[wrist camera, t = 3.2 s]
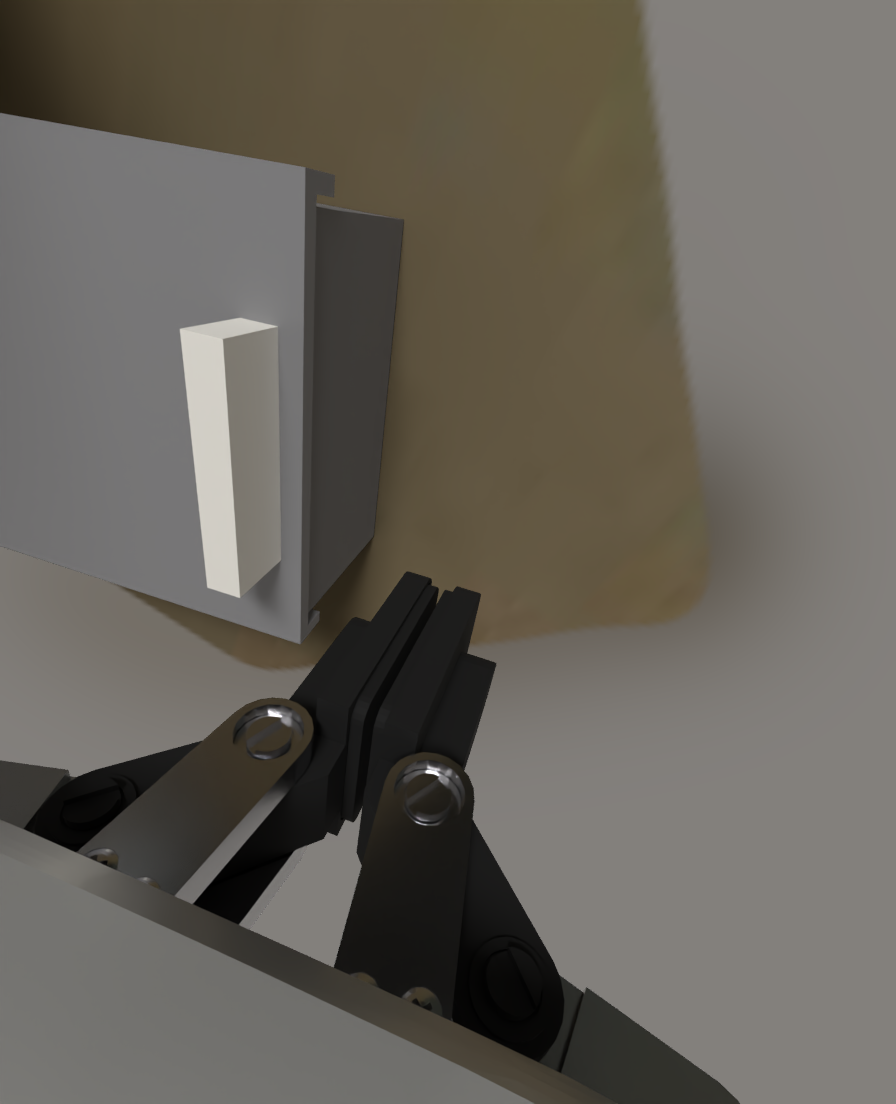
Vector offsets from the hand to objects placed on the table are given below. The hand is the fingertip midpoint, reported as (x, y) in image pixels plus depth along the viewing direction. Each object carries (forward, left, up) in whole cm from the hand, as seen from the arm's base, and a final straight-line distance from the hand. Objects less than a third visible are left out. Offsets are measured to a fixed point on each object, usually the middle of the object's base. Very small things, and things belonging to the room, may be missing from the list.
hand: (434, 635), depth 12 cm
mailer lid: (0, -15, -7) cm, 17 cm away
